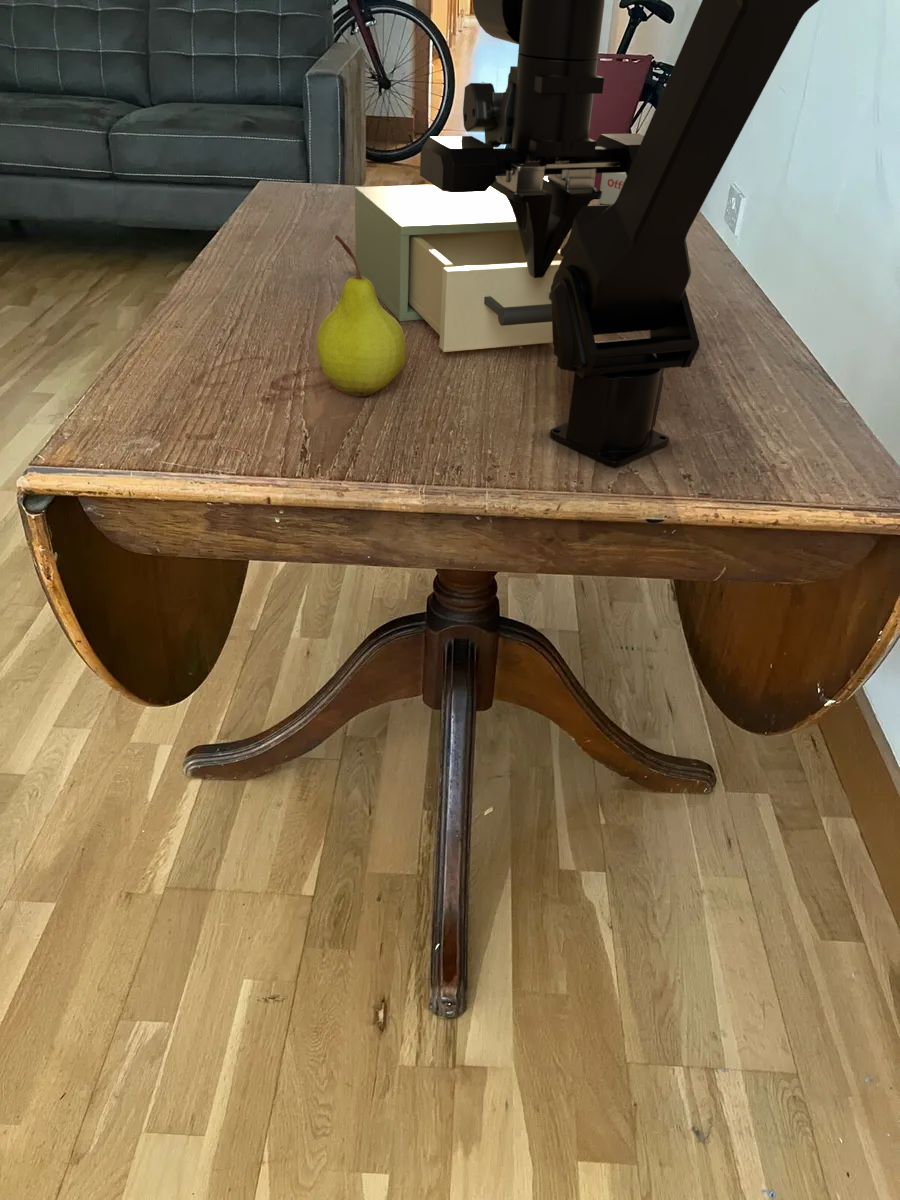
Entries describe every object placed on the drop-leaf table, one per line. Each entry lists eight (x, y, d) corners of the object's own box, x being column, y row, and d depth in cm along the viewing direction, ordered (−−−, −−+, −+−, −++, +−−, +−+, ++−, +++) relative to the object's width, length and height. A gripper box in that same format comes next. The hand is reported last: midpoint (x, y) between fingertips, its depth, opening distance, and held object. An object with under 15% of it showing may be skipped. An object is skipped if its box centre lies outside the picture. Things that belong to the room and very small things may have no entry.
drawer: (609, 359, 81) (621, 279, 77) (463, 374, 76) (468, 290, 73) (519, 290, 95) (526, 219, 91) (393, 298, 91) (394, 225, 87)
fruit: (409, 378, 78) (413, 226, 71) (399, 412, 72) (402, 252, 65) (326, 372, 78) (322, 220, 71) (310, 406, 72) (303, 245, 65)
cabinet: (540, 310, 93) (549, 219, 88) (399, 321, 89) (400, 226, 84) (482, 265, 105) (487, 182, 100) (355, 272, 100) (354, 186, 95)
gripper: (619, 44, 76) (593, 243, 85) (399, 41, 70) (396, 254, 80) (693, 62, 68) (655, 281, 77) (450, 60, 62) (440, 296, 71)
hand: (536, 276), depth 76 cm, fingers closed
